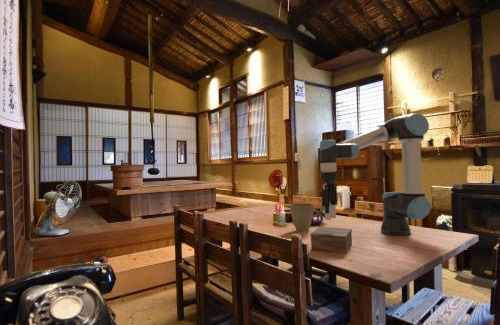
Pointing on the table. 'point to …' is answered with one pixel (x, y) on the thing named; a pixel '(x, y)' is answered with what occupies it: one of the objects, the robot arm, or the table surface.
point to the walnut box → (331, 240)
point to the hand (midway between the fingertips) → (330, 218)
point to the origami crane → (320, 211)
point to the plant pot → (302, 216)
